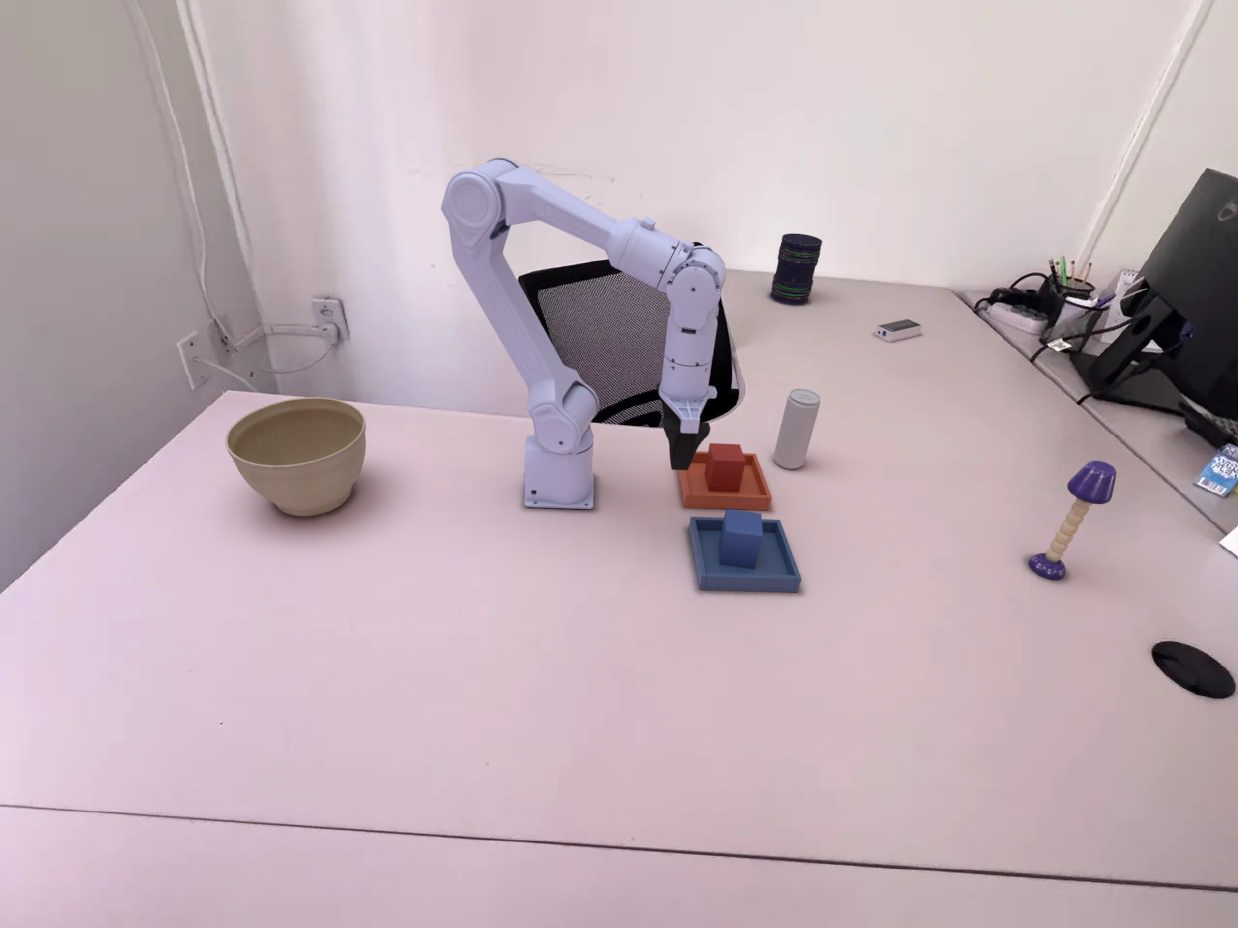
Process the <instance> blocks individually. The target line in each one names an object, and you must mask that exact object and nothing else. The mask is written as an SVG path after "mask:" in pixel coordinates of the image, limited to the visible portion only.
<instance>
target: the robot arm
mask: <svg viewBox="0 0 1238 928" xmlns="http://www.w3.org/2000/svg"><path fill="white" fill-rule="evenodd" d="M440 210H441V212H442V214H443V216H444V217H445V220H446V221H447V223H448V230H449V237H450V242H451V243H450V246H451V252H452V259H453V260H454V263H455V265H456V266H457V268H458V270H459V272H460V273H461V275H462V277H463V278H464V280H465V282H466V283H467V286H468V287H469V289H470V291H471V292H472V294H473V296H474V298H475V299H476V301H477V302H478V304H479V306H480V307H481V309H482V312H483V313H484V315H485V316H486V318H487V319H488V322H489V323H490V325H491V326H492V328H493V330H494V332H495V333H496V335H497V337H498V339H499V340H500V342H501V344H502V345H503V348H504V349H505V351H506V352H507V354H508V356H509V357H510V359H511V361H512V363H513V364H514V366H515V368H516V370H517V371H518V373H519V375H520V377H521V379H522V380H523V382H524V384H525V385H526V388H527V399H526V400H527V402H526V403H527V405H526V407H527V408H526V409H527V413H528V415H529V416H530V419H531V420H532V424H533V434H529V435H526V438H525V444H524V445H525V447H524V463H523V464H524V467H523V468H524V470H523V484H524V507H526V508H546V509H547V508H549V509H573V510H574V509H575V510H577V509H579V510H592V509H594V474H593V473H592V472H593V456H594V455H593V454H594V439H595V437H594V434H593V429H592V427H591V422H592V421H593V419H595V418H596V416H597V414H598V412H599V410H600V401H599V397H598V395H597V393H596V392H595V391H594V389H593V388H592V387H591V386H589V385H588V384H587V383H585V381H583V379H582V378H581V376H580V375H579V373H578V371H577V370H576V369H574V368H571V367H568V366H566V365H564V364H563V363H564V362H562V359H561V358H560V355H559V354H558V352H557V350H556V348H555V347H554V345H553V343H552V341H551V339H550V337H549V335H548V334H547V332H546V330H545V328H544V326H543V325H542V323H541V321H540V319H539V316H538V315H537V314H536V312H535V310H534V308H533V307H532V305H531V303H530V301H529V299H528V297H527V295H526V293H525V292H524V290H523V288H522V285H521V284H520V282H519V281H518V279H517V277H516V275H515V273H514V271H513V269H512V268H511V266H510V264H509V262H508V260H507V259H506V256H505V255H504V249H505V245H506V243H507V240H508V237H509V233H510V230H511V227H512V226H514V225H520V224H525V223H531V222H537V221H540V222H542V223H544V224H547V225H549V226H552V228H555V229H558V230H560V231H562V232H564V233H567V234H568V235H570V236H573V237H575V238H577V239H579V240H582V241H584V242H586V243H589V244H591V245H593V246H595V247H597V248H599V249H602V250H603V251H604V252H605V254H606V256H607V258H608V262H609V264H610V266H611V267H613V268H614V269H616V270H619V271H621V272H623V273H624V274H625V275H628V276H630V277H632V278H634V279H636V280H638V281H639V282H641V283H644V284H645V285H648V286H649V287H651V288H653V289H655V290H657V291H659V292H661V293H665V294H666V296H667V300H668V301H669V303H670V308H669V309H670V310H669V315H668V317H667V324H666V334H665V342H664V343H665V345H664V353H663V364H662V371H661V382H658V383H656V384H655V385H656V392H657V394H658V397H659V399H660V402H661V406H662V413H663V414H662V415H663V418H662V419H661V423H662V428H663V432H664V434H665V437H666V438H667V441H668V450H669V452H668V453H669V462H670V468H671V470H673V471H678V470H688V468H689V466H690V464H691V462H692V460H693V457H694V455H695V453H696V451H698V449H699V447H700V446H701V444H702V443H703V441H704V440H705V439H706V438H707V437H709V435H710V432H711V425H710V422H704V421H702V422H701V414H702V412H703V410H704V408H705V406H706V404H707V402H708V400H710V399H716V398H717V395H718V391H717V388H716V387H715V386H714V385H709V383H710V376H711V370H712V363H713V357H714V349H715V343H716V335H717V331H718V319H717V318H718V316H719V310H720V308H719V302H720V300H721V298H722V291H723V287H724V286H725V282H726V277H727V269H726V264H725V262H724V260H723V258H722V257H721V256H720V255H719V254H718V253H717V252H716V251H714V250H713V249H712V248H711V246H708V245H696V246H695V242H692V241H690V240H688V239H686V240H685V242H683V241H681V240H679V239H677V238H676V237H674V236H671V234H667V233H666V232H664V231H662V230H660V229H658V228H656V227H655V226H656V223H657V222H656V221H655V220H654V219H652V218H650V217H648V216H645V217H644V218H643V219H642V220H641V219H639V218H638V217H635V216H634V217H630V218H627V219H624V220H616V219H614V218H613V217H611V216H609V215H608V214H606V213H605V212H603V211H601V210H599V208H596V207H594V206H593V205H591V204H589V203H588V202H586V201H584V200H583V199H581V198H579V197H578V196H576V195H574V194H573V193H571V192H569V191H567V190H566V189H564V188H562V187H561V186H559V185H558V184H556V183H554V182H552V181H551V180H549V179H547V178H546V177H544V176H543V175H542V174H540V173H539V172H538V171H536V170H535V169H534V168H531V167H529V166H526V165H522V166H520V164H519V163H518V162H517V161H515V160H513V159H511V158H508V157H504V156H498V157H497V156H496V157H493V158H491V159H489V160H487V161H486V162H484V163H482V164H480V165H477V166H475V167H472V168H469V169H462V170H460V171H458V172H457V173H455V174H454V175H453V176H452V177H450V179H449V181H448V183H447V184H446V187H445V190H444V195H443V199H442V202H441V205H440Z"/></svg>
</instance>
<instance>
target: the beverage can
mask: <svg viewBox="0 0 1238 928" xmlns="http://www.w3.org/2000/svg"><path fill="white" fill-rule="evenodd" d="M821 398H822V397H821V395H820V394H818V393H817V392H816V391H814V390H812V389H807V388H793V389H792V390H790V391H789V394H788V396H787V398H786V403H785V407H784V411H783V416H782V419H781V422H780V426H779V431H778V435H777V439H776V443H775V448H774V452H773V456H772V457H773V460H774V462H775V463H776V464H777V465H778V466H779V467H782V468H783V469H788V470H796V469H798V468H800V467H802V466H803V465H804V463H805V460H806V456H807V453H808V449H809V445H810V442H811V439H812V435H813V432H814V427H815V424H816V421H817V417H818V413H819V409H820V406H821V400H822V399H821Z"/></svg>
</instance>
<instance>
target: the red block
mask: <svg viewBox="0 0 1238 928" xmlns="http://www.w3.org/2000/svg"><path fill="white" fill-rule="evenodd" d="M708 444H709V446H708V451H707V452H708V456H707V461H706V467H705V473H704V474H705V478H706V482H707V486H708V490H709V491H718V492H739V489H740V485H741V480H742V476H743V471H744V467H745V462H746V461H745V458H744V455H743V453H744V452H743V450H742V447H741V444H739V443H720V442H719V443H718V442H709V443H708Z"/></svg>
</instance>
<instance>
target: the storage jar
mask: <svg viewBox="0 0 1238 928" xmlns="http://www.w3.org/2000/svg"><path fill="white" fill-rule="evenodd" d="M781 236H782V237H781V242H780V246H779V248H778V254H777V260H778V261H777V265H776V270H775V273H774V274H773V276H772V282H771V288H770V290H771V292H770V294H769V297H770V299H771V300H773V301H774V302H777V303H779V304H782V305H786V306H804V305H807V304H808V303H809V297H810V295H811V292H812V288H813V285H814V279H813V278H814V274H815V270H816V267H817V265H818V263H819V259H820V256H821V249H822V245H823V240H822V239H820V238H819V237H816V236H813V235H809V234H804V233H793V232H792V233H791V232H790V233H785V234H783V235H781Z"/></svg>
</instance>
